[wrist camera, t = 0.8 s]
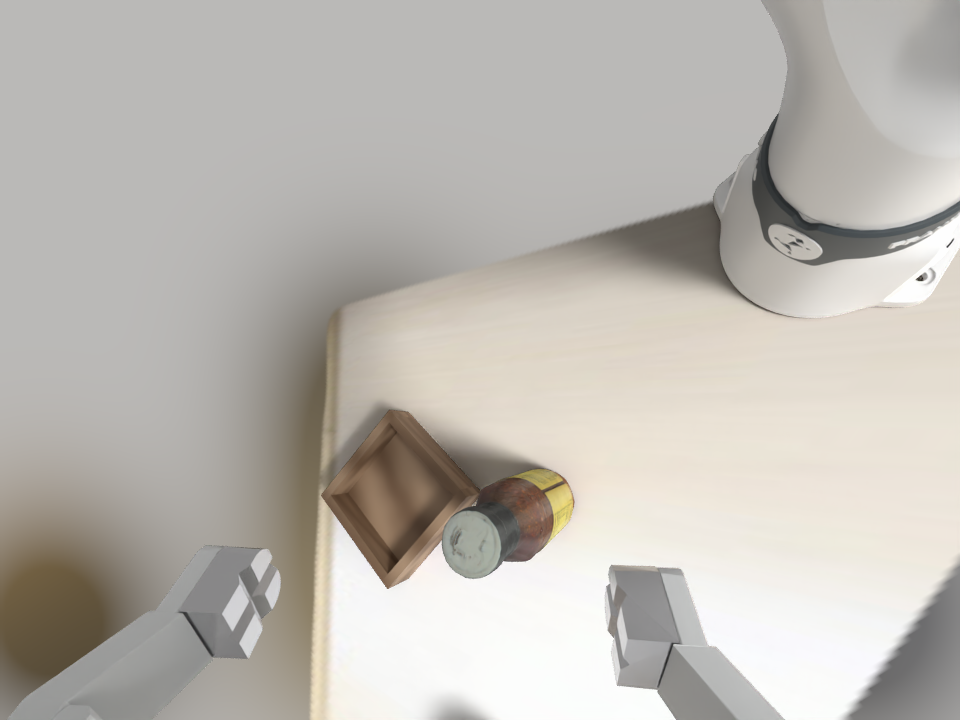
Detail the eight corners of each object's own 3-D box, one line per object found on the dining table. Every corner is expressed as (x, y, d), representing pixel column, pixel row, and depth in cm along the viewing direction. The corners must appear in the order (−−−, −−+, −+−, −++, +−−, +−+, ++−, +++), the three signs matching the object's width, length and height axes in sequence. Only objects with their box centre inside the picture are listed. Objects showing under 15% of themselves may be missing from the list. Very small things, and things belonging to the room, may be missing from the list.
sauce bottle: (505, 492, 47) (401, 521, 29) (550, 455, 46) (470, 462, 28) (544, 547, 45) (456, 617, 27) (592, 510, 43) (535, 556, 25)
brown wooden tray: (408, 412, 53) (389, 409, 50) (482, 493, 48) (466, 496, 44) (344, 491, 55) (320, 495, 51) (408, 578, 50) (387, 589, 46)
